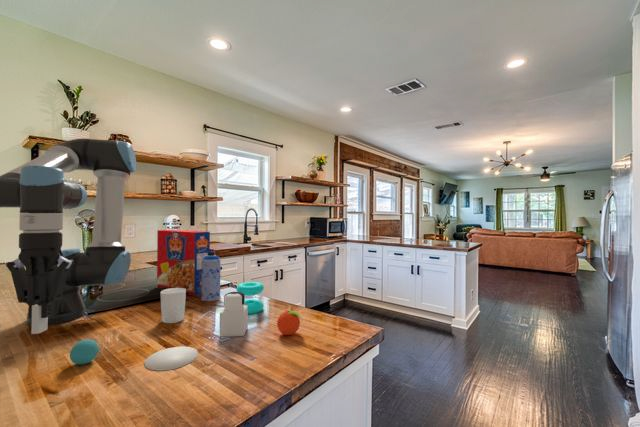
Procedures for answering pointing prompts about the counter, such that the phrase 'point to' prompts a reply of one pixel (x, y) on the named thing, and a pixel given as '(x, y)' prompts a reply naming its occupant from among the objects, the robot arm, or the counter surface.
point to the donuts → (251, 289)
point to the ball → (84, 351)
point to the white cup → (173, 304)
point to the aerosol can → (210, 277)
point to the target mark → (171, 358)
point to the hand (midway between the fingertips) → (39, 331)
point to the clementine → (288, 322)
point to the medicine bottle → (234, 315)
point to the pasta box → (181, 259)
